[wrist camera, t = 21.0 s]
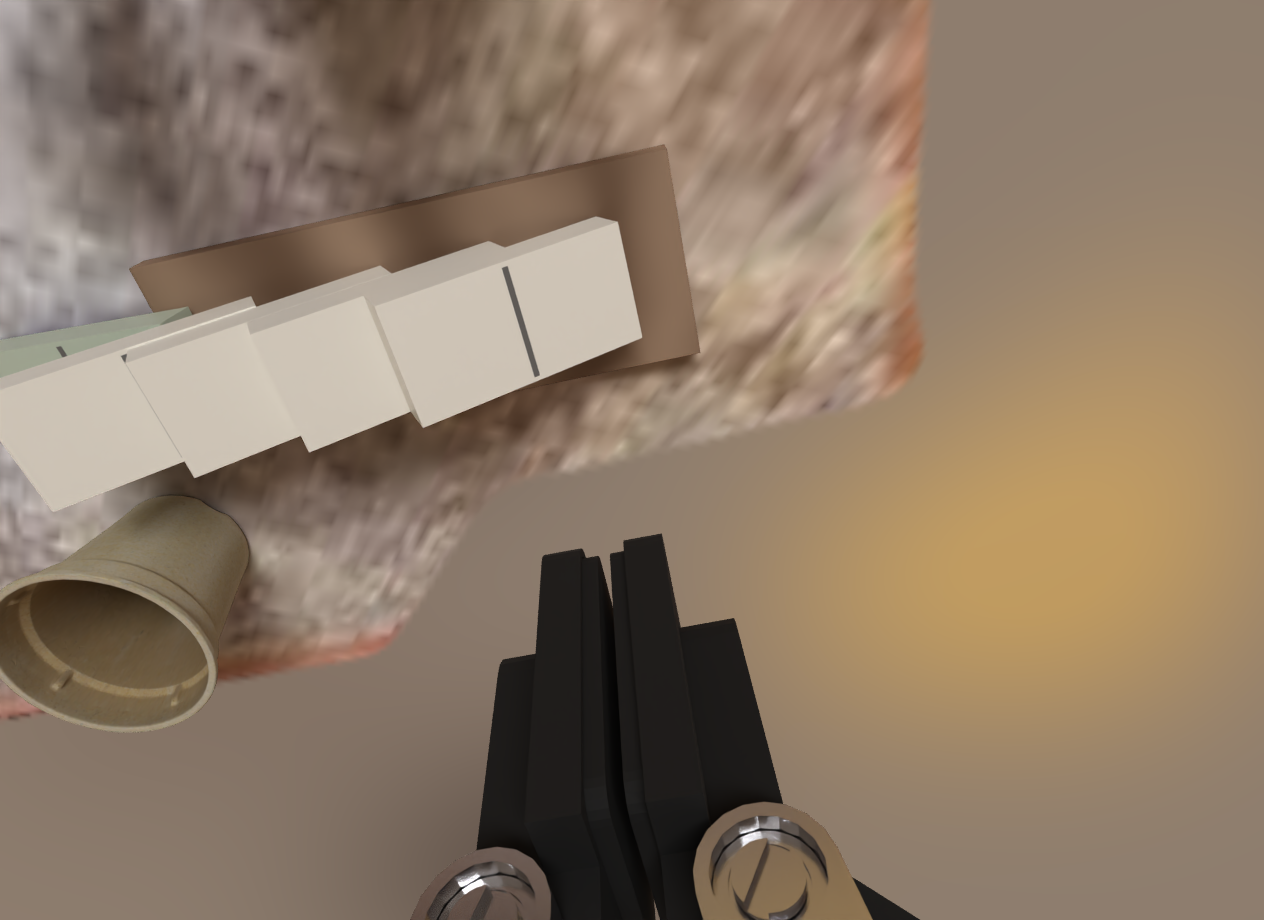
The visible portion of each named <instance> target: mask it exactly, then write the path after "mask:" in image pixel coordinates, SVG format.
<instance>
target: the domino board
mask: <svg viewBox="0 0 1264 920" xmlns="http://www.w3.org/2000/svg"><path fill="white" fill-rule="evenodd" d="M593 217H600V218H604V219H608V220H612V221H616V222H618V225H619V230H620V235H621V239H622V244H623V249H624V253H625V258H626V263H627V268H628V272H629V277H630V282H631V286H632V291H633V296H634V300H635V305H636V310H637V314H638V319H639V324H640V328H641V333H642V338H641V339H638V340H636V341H633V342H631V343H628V344H626V345H624V346H621V347H619V348H616V349H614V350H611V351H609V352H607V353H604V354H602V355H599V356H597V357H594V358H592V359H590V360H587V361H585V362H582V363H580V364H577V365H575V366H573V367H570V368H568V369H565V370H563V371H560V372H558V373H555V374H553V375H551V376H548V377H546V378H543V379H541V380H538V381H536V382H534V383H531V384H529V385H526V386H524V387H521V388H519V389H517V390H514V391H518V390H523V389H528V388H533V387H537V386H542V385H547V384H552V383H557V382H562V381H566V380H571V379H576V378H581V377H586V376H590V375H595V374H600V373H605V372H610V371H615V370H619V369H624V368H629V367H634V366H639V365H644V364H648V363H653V362H658V361H663V360H668V359H673V358H677V357H682V356H687V355H692V354H697V353H700V348H699V342H698V335H697V329H696V323H695V317H694V311H693V305H692V299H691V293H690V287H689V281H688V275H687V269H686V263H685V257H684V251H683V244H682V238H681V232H680V226H679V220H678V214H677V208H676V202H675V196H674V190H673V184H672V178H671V172H670V166H669V160H668V153H667V149H666V147H665V145H660V146H656V147H651V148H647V149H642V150H638V151H633V152H629V153H624V154H620V155H615V156H611V157H606V158H602V159H598V160H593V161H589V162H584V163H580V164H575V165H571V166H566V167H562V168H557V169H553V170H548V171H544V172H539V173H535V174H530V175H526V176H521V177H517V178H513V179H508V180H504V181H499V182H495V183H490V184H486V185H481V186H477V187H472V188H468V189H463V190H459V191H454V192H450V193H445V194H441V195H436V196H432V197H428V198H423V199H419V200H414V201H410V202H405V203H401V204H396V205H392V206H387V207H383V208H378V209H374V210H369V211H365V212H360V213H356V214H351V215H347V216H343V217H338V218H334V219H329V220H325V221H320V222H316V223H311V224H307V225H302V226H298V227H293V228H289V229H284V230H280V231H275V232H271V233H266V234H262V235H257V236H253V237H249V238H244V239H240V240H235V241H231V242H226V243H222V244H217V245H213V246H208V247H204V248H199V249H195V250H190V251H186V252H181V253H177V254H172V255H168V256H164V257H159V258H155V259H150V260H146V261H143V262H141V263H139V264H137V265H135V266H133V267H132V268H130V269H129V270H130V272H131V273H132V275H133V277H134V279H135V281H136V282H137V284H138V286H139V288H140V290H141V291H142V293H143V295H144V297H145V299H146V300H147V302H148V304H149V306H150V308H151V309H152V311H153V313H155V312H161V311H166V310H172V309H178V308H183V307H189V309H190V311H191V313H192V315H194V314H198V313H201V312H204V311H207V310H210V309H213V308H216V307H219V306H222V305H225V304H228V303H231V302H234V301H237V300H240V299H244V298H247V297H250V296H251V297H252V299H253V301H254V303H255V305H256V307H257V306H260V305H263V304H266V303H269V302H272V301H275V300H278V299H281V298H284V297H287V296H290V295H293V294H296V293H299V292H302V291H305V290H308V289H311V288H314V287H317V286H320V285H323V284H326V283H329V282H332V281H335V280H338V279H341V278H344V277H347V276H350V275H353V274H356V273H359V272H362V271H365V270H368V269H371V268H374V267H377V266H382V267H383V268H384V269H386V270H387V271H389V272H390V273H391V274H392V273H395V272H398V271H401V270H404V269H407V268H410V267H413V266H416V265H419V264H422V263H425V262H428V261H430V260H433V259H436V258H439V257H442V256H445V255H448V254H451V253H454V252H457V251H460V250H463V249H466V248H469V247H472V246H475V245H478V244H481V243H484V242H487V241H490V242H492V243H495V244H497V245H500V246H502V247H508V246H511V245H514V244H517V243H520V242H523V241H525V240H528V239H531V238H534V237H537V236H540V235H543V234H546V233H549V232H552V231H555V230H558V229H561V228H564V227H566V226H569V225H572V224H575V223H578V222H581V221H584V220H587V219H590V218H593ZM512 392H513V391H512ZM409 413H411V412H409ZM406 414H407V413H406Z"/></svg>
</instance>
